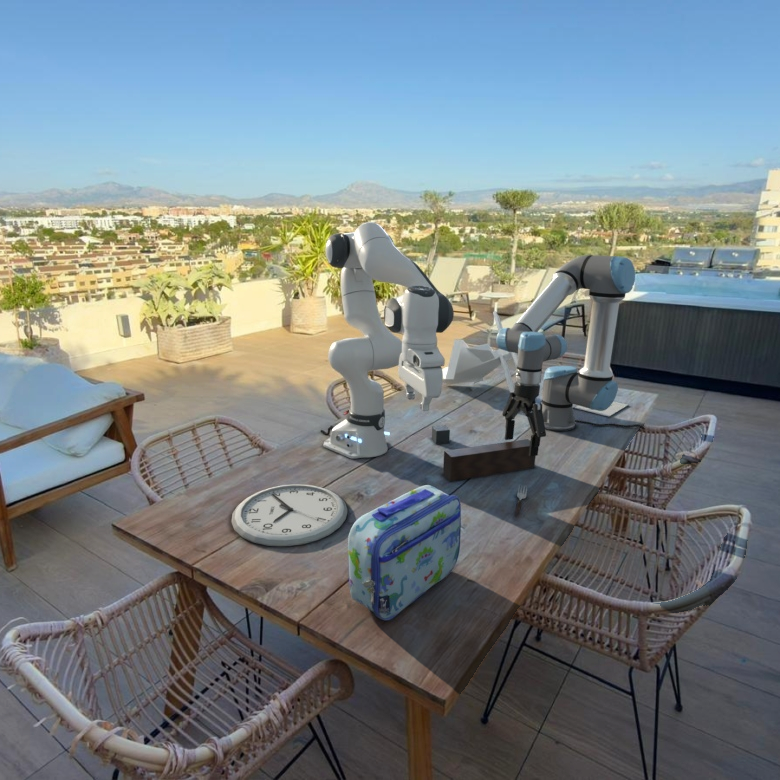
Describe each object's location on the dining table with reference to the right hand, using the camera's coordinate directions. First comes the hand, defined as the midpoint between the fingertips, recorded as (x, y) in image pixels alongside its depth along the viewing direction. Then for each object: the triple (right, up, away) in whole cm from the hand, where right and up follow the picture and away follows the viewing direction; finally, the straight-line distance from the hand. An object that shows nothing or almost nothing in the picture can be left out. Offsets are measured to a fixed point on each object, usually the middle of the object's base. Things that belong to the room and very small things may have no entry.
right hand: (520, 447), depth 166 cm
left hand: (-34, +14, -30) cm, 48 cm away
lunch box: (-38, -24, -56) cm, 72 cm away
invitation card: (+50, +11, +60) cm, 79 cm away
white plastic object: (0, +17, +77) cm, 79 cm away
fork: (-6, -14, -21) cm, 26 cm away
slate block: (-23, 0, +21) cm, 32 cm away
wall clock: (-68, -15, -28) cm, 75 cm away
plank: (-10, -7, -1) cm, 13 cm away
